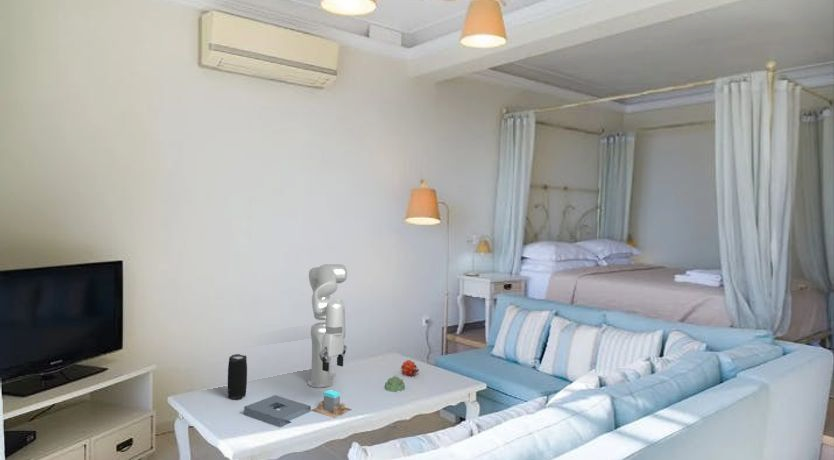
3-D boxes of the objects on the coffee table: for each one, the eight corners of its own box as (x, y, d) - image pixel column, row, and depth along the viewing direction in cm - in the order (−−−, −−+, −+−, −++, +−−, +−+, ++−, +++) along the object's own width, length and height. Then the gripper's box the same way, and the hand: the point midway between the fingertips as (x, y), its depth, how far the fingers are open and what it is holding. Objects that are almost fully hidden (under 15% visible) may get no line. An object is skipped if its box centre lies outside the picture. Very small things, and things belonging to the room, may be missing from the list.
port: (275, 402, 252) (275, 395, 252) (310, 413, 240) (310, 406, 240) (244, 414, 237) (244, 406, 237) (280, 427, 225) (280, 418, 225)
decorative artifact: (395, 384, 284) (380, 388, 277) (395, 370, 284) (381, 374, 277) (408, 389, 277) (393, 393, 270) (409, 375, 277) (394, 379, 270)
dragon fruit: (405, 373, 306) (414, 383, 296) (394, 366, 302) (404, 376, 292) (414, 361, 307) (424, 370, 297) (404, 354, 303) (413, 363, 293)
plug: (329, 407, 246) (329, 389, 246) (339, 410, 243) (340, 392, 243) (323, 409, 243) (323, 392, 243) (333, 412, 240) (334, 395, 239)
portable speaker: (230, 401, 251) (230, 360, 250) (225, 395, 259) (226, 354, 258) (248, 398, 255) (249, 357, 254) (243, 392, 263) (244, 352, 262)
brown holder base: (328, 404, 252) (328, 396, 252) (352, 411, 245) (352, 402, 244) (310, 412, 242) (310, 403, 242) (334, 420, 234) (334, 411, 234)
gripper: (340, 325, 251) (339, 362, 251) (314, 332, 236) (313, 371, 236) (352, 328, 247) (351, 365, 247) (327, 334, 232) (326, 374, 232)
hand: (332, 368), depth 242 cm, fingers open, 9 cm apart
